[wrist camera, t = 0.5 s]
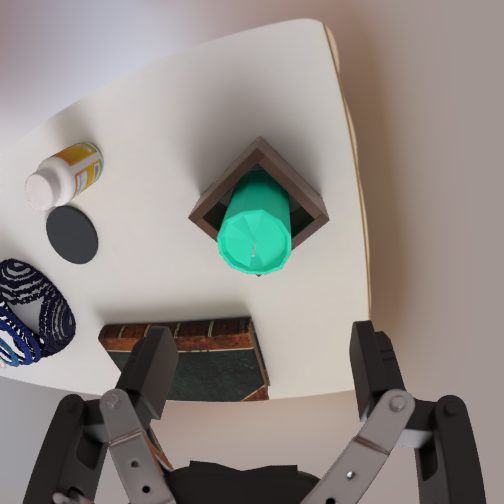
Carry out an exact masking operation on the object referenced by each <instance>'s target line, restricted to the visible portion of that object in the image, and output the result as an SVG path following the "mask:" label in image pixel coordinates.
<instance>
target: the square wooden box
mask: <svg viewBox="0 0 504 504" xmlns="http://www.w3.org/2000/svg"><path fill="white" fill-rule="evenodd" d="M257 163H258V164H259V165H260V166H261V167H262V168H263V169H264V170H265V171H266V172H267V173H268V174H270V175H271V176H272V177H273V178H274V179H275V180H276V181H277V182H278V183H279V184H280V185H281V186H282V187H283V188H284V189H285V190H286V191H287V192H288V193H289V194H290V195H291V196H292V197H293V198H294V199H295V200H296V201H297V202H298V203H299V204H300V205H301V206H300V207H299V208H298V209H296V210H295V211H294V212H293V213H292V214H291V215H290V227H291V251H292V250H293V249H295V248H296V247H297V246H298V245H300V244H301V243H302V242H303V241H305V240H306V239H307V238H308V237H310V236H311V235H312V234H313V233H314V232H316V231H317V230H318V229H319V228H321V227H322V226H323V225H324V224H326V223H327V222H328V221H329V216H328V213H327V210H326V207H325V205H324V202H323V199H322V197H321V196H320V195H319V194H318V193H317V192H316V191H315V190H314V189H313V188H312V187H311V186H310V185H309V184H308V183H307V182H306V181H305V180H304V179H303V178H302V177H301V176H300V175H299V173H298V172H297V171H296V170H295V169H294V168H293V167H292V166H291V165H290V164H289V163H288V162H287V161H286V160H284V159H283V158H282V157H281V156H280V155H279V154H278V153H277V152H276V151H275V150H274V149H273V148H272V147H271V146H270V145H269V144H268V143H267V142H266V141H265V140H264V139H263V138H262V137H261V136H260V137H259V138H258V139H257V140H256V141H255V142H254V143H253V144H252V145H251V146H250V147H249V148H248V149H247V150H246V151H245V152H243V153H242V154H241V155H240V156H239V157H238V158H237V159H236V160H235V161H234V162H233V163H232V164H231V165H230V166H229V167H228V169H227V170H226V171H225V172H224V173H223V174H222V175H221V176H220V177H219V178H218V179H217V180H216V181H215V182H214V183H213V184H212V185H211V186H210V187H209V188H208V189H207V190H206V191H205V192H204V193H203V194H202V195H201V197H200V198H199V200H198V202H197V203H196V205H195V207H194V208H193V210H192V212H191V213H190V215H189V217H188V218H189V219H190V220H191V221H192V222H194V223H195V224H196V225H197V226H198V227H199V228H201V229H202V230H203V231H204V232H205V233H207V234H208V235H209V236H210V237H211V238H212V239H214V240H215V241H216V242H217V243H218V241H217V236H218V234H219V231H220V228H221V225H222V222H223V220H224V217H225V214H226V211H227V209H226V208H225V207H224V206H223V205H222V204H220V203H219V202H218V201H219V200H220V199H221V198H222V197H223V196H224V195H225V194H226V193H227V192H228V191H229V190H230V189H231V188H232V187H233V186H234V185H235V184H236V183H237V182H238V181H239V180H240V179H241V178H242V177H243V176H244V175H245V174H246V173H247V172H248V171H250V170H251V169H252V168H253V167H254V166H255V165H256V164H257ZM256 275H257V276H258V277H259V276H261V275H262V274H256Z"/></svg>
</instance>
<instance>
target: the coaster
mask: <svg viewBox="0 0 504 504" xmlns="http://www.w3.org/2000/svg"><path fill="white" fill-rule="evenodd" d="M46 230H47V235H48V238H49V241H50V243H51V245H52V247H53V248H54V249H55V251H56V252H57V253H58V254H59V255H60V256H61V257H62V258H64V259H65V260H67V261H69V262H71V263H75V264H85V263H87V262H89V261H90V260H92V258H93V257H94V256H95V254H96V252H97V249H98V237H97V233H96V231H95V228H94V226H93V224H92V223H91V221H90V220H89V219H88V218H87V216H86V215H85V214H83V213H82V212H81V211H79V210H78V209H76V208H74V207H71V206H60V207H57V208H56V209H54V210H53V211H52V212H51V213H50V214H49V216H48V219H47V223H46Z"/></svg>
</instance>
